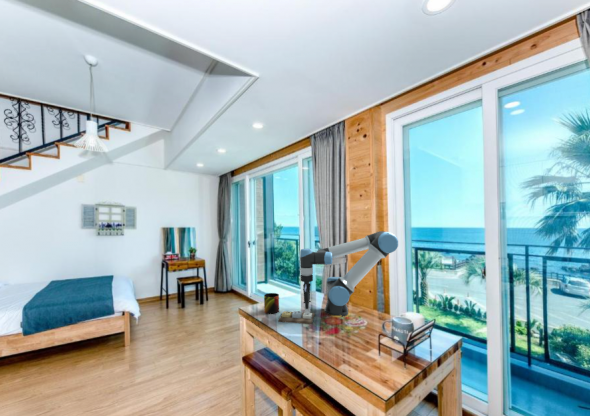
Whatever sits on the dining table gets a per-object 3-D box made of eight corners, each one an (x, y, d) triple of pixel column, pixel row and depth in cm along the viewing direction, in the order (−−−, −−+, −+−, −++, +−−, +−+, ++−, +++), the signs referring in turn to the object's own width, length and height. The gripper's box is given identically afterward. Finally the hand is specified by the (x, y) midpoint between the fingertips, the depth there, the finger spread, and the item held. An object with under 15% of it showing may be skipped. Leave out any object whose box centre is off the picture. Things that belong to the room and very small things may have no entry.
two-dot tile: (301, 317, 163) (301, 311, 163) (300, 320, 158) (300, 313, 158) (293, 316, 164) (293, 310, 164) (292, 319, 159) (292, 313, 159)
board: (314, 317, 166) (314, 312, 166) (311, 326, 152) (311, 321, 152) (284, 315, 170) (283, 311, 170) (278, 323, 156) (278, 319, 156)
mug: (273, 308, 183) (273, 290, 184) (281, 314, 171) (281, 295, 171) (260, 310, 179) (260, 292, 180) (267, 317, 167) (267, 298, 167)
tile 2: (312, 318, 162) (312, 312, 162) (311, 322, 157) (311, 315, 157) (304, 318, 163) (304, 312, 163) (302, 321, 158) (302, 315, 158)
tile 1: (291, 317, 164) (291, 311, 164) (289, 320, 159) (289, 314, 159) (283, 317, 165) (283, 311, 165) (281, 320, 160) (281, 314, 160)
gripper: (302, 271, 168) (303, 309, 167) (298, 276, 155) (299, 317, 154) (314, 272, 166) (314, 310, 165) (311, 276, 153) (312, 318, 153)
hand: (307, 313), depth 160 cm, fingers closed
